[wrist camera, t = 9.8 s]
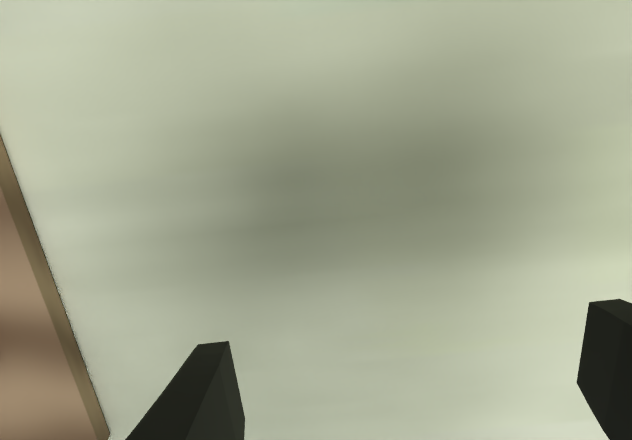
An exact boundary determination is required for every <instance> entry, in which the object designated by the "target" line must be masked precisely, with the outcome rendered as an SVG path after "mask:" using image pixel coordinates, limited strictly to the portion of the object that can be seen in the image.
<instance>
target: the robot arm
mask: <svg viewBox="0 0 632 440" xmlns="http://www.w3.org/2000/svg"><path fill="white" fill-rule="evenodd" d="M577 384H578V386H579V388H580V390H581V391H582V393H583V395H584V397H585V399H586V401H587V403H588V405H589V407H590V408H591V410H592V412H593V414H594V415H595V417H596V419H597V421H598V422H599V424H600V426H601V427H602V429H603V431H604V432H605V434H606V435H607V437H608V438H609V439H610V440H632V303H629V302H626V301H624V300H621V299H615V300H606V301H596V302H589V307H588V313H587V320H586V326H585V333H584V339H583V345H582V352H581V358H580V365H579V371H578V377H577ZM244 429H245V416H244V412H243V407H242V402H241V397H240V393H239V388H238V383H237V378H236V373H235V369H234V364H233V359H232V354H231V350H230V345H229V341H226V342H217V343H207V344H198V345H197V347H196V348H195V349H194V350H193V352H192V353H191V354H190V356H189V357H188V358H187V360H186V361H185V362H184V364H183V365H182V367H181V368H180V369H179V371H178V372H177V373H176V375H175V376H174V377H173V379H172V380H171V382H170V383H169V384H168V386H167V387H166V388H165V390H164V391H163V392H162V394H161V395H160V396H159V398H158V399H157V400H156V402H155V403H154V404H153V405H152V407H151V408H150V409H149V411H148V412H147V413H146V414H145V416H144V417H143V418H142V419H141V421H140V422H139V423H138V425H137V426H136V427H135V428H134V430H133V431H132V432H131V433H130V435H129V436H128V437H127V438H126V439H125V440H244Z"/></svg>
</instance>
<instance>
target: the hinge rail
mask: <svg viewBox="0 0 632 440" xmlns="http://www.w3.org/2000/svg"><path fill="white" fill-rule="evenodd" d="M109 435H110V433H109V430H108V428H107V425H106V422H105V419H104V417H103V414H102V411H101V409H100V406H99V403H98V400H97V398H96V395H95V392H94V389H93V387H92V384H91V381H90V379H89V376H88V373H87V370H86V368H85V365H84V362H83V360H82V357H81V354H80V351H79V349H78V346H77V343H76V340H75V338H74V335H73V332H72V330H71V327H70V324H69V321H68V319H67V316H66V313H65V310H64V308H63V305H62V302H61V300H60V297H59V294H58V291H57V289H56V286H55V283H54V281H53V278H52V275H51V272H50V270H49V267H48V264H47V261H46V259H45V256H44V253H43V251H42V248H41V245H40V242H39V240H38V237H37V234H36V232H35V229H34V226H33V223H32V221H31V218H30V215H29V212H28V210H27V207H26V204H25V202H24V199H23V196H22V193H21V191H20V188H19V185H18V183H17V180H16V177H15V174H14V172H13V169H12V166H11V163H10V161H9V158H8V155H7V153H6V150H5V147H4V144H3V142H2V139H1V136H0V440H108V438H109Z"/></svg>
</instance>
